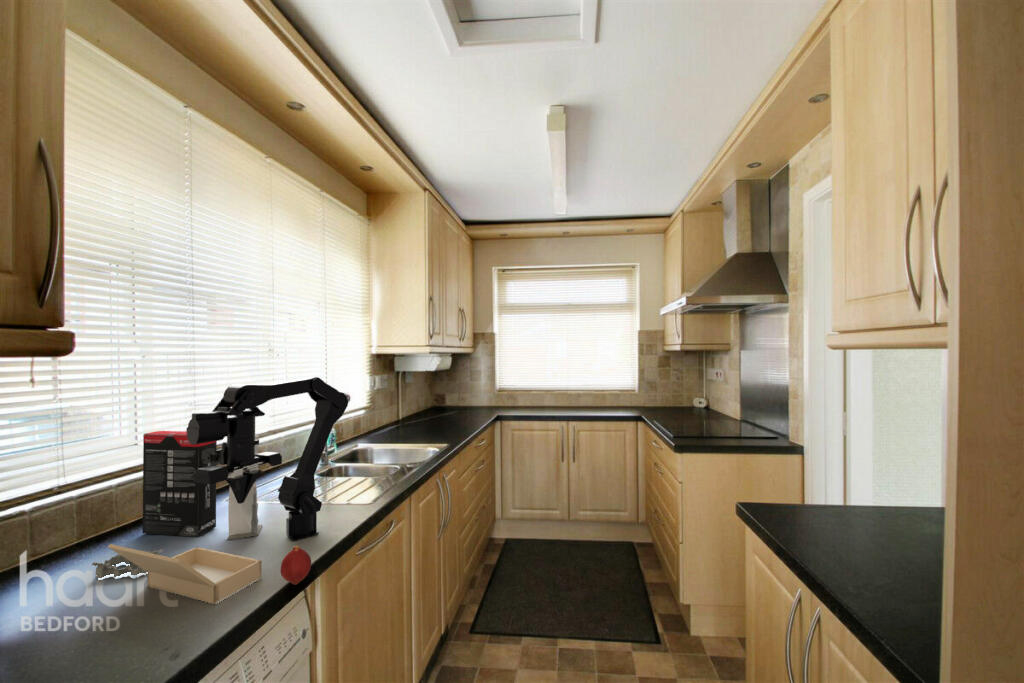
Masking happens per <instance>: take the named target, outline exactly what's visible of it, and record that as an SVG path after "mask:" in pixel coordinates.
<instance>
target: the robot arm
mask: <svg viewBox="0 0 1024 683" xmlns="http://www.w3.org/2000/svg"><path fill="white" fill-rule="evenodd" d="M306 393H307V395H308V396H309V398H310V399H311V400H312V401H314V402H315V407H314V415H315V421H314V423H313V427H312V429H311V431H310V434H309V436H308V438H307V441H306V443H305V447H304V449H303V451H302V453H301V457H300V459H299V461H298V463H297V466H296V469H295V471H294V472H293V473H292V474H291V475H290V476H287V475H284V477H283V479H282V482H281V485H280V487H279V488H278V490H277V492H278V497H277V499H278V501H279V503H280V504H281V505H282V506H283V507H284V510H285V511H288V517H287V518H286V520H285V521H286V523H285V524H286V526H285V527H286V529H285V530H286V531H285V532H286V535H287V536H288V537H289V538H290V540H291V541H297V540H301V539H304V537H305V538H308V537H307V536H309V537H312V536H311V535H313V536H316V535H315V534H317V535H319V534H318V533H319V531H318V530H317V522H318V521H317V520H318V519H317V517H318V515H317V514H318V512H320V511H321V509H322V505H323V502H322V501H321V500H319V499H318V498H317V497H315V496H314V495H315V491H316V481H315V475H316V472H317V469H318V468H319V464H320V461H321V459H322V456H323V453H324V451H325V448H326V446H327V443H328V440H329V438H330V435H331V432H332V430H333V426H334V425H335V424H336V423H337V422H338V421H339V420H340V419H341V418H342V417H343V415H344V413H345V412H346V410H347V408H348V405H349V399H348V396H347V395H346V394H345V393H344V392H340V391H339V389H336V388H335V387H334V386H332V385H330V384H328V383H327V382H325V381H324V380H323V379H322V378H320V377H318V376H306V377H303V378H298V379H291V380H286V381H280V382H273V383H267V384H259V383H258V384H256V383H255V384H254V383H253V384H252V383H251V384H248V383H246V384H245V383H234V384H230V385H229V386H227V388H226V389H225V391H224V392H223V396H222V398H221V399H220V401H219V402H218V403H217V405H216V406H214V408H213V409H212V411H211V412H193V413H191V419H190V420H189V422H188V425H187V427H186V431H187V438H188V441H189V442H190V444H192V445H195V444H201V443H207V442H213V441H217V442H219V441H222V440H224V439H225V438H226V441H224V442H222V444H221V449H218V450H216V451H215V450H214V448H211V449H206V450H204V451H202V462H203V464H208V463H210V466H207V467H203V468H199V469H197V470H196V471H195V472H194V474H193V482H197V483H204V484H215V483H216V484H218V483H221V482H226V483H228V485H229V488H230V487H231V489H232V491H233V493H234V496H235V498H236V500H237V503H239V504H241V503H244V501H245V499H246V497H247V495H248V493H249V491H250V489H251V488H252V486H253V484H254V482H255V481H256V482H257V479H258V478H259V476H260V475H261V474H263V470H260V469H259V466H263V465H265V464H268V465H270V467H275V466H279V465H282V464H283V456H282V455H281V454H280V452H274V451H263V452H260V453H259V452H258V454H255V445H258V444H259V445H260V439H259V440H255V436H256V435H255V434H256V418H257V417H264V416H265V415H266V413H265V412H264V411H262V410H261V409H260V408H259V406H261V405H264V404H266V403H267V402H269V401H271V400H275V399H279V398H286V397H292V396H296V395H301V394H306ZM221 465H222V466H221ZM235 467H238V468H235Z"/></svg>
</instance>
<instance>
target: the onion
mask: <svg viewBox="0 0 1024 683" xmlns="http://www.w3.org/2000/svg"><path fill="white" fill-rule="evenodd" d="M311 566H312V558H311V556H310V554H309V553H308V552H307V551H306V550H305V549H304V548H300V546H299V545H294V546H293V547H292V550H291V551H289V552H288V553H287V554H286V555H285V556H284V557H283V559H282V561H281V564H280V576H281V577H282V579H284V580H285V581H287V582H289V583H291V584H292V585H298V584H299V583H300V582H302V581H303V580H304V579H305V578H306V576H307V577H308V575H309V573H310V571H311Z"/></svg>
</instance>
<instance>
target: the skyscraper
mask: <svg viewBox="0 0 1024 683" xmlns="http://www.w3.org/2000/svg"><path fill="white" fill-rule="evenodd" d="M255 440H259V441H260V435H259V434H258V433H255ZM259 445H260V443H259V444H258V445H255V454H259ZM235 468H238V467H235ZM228 491H229V492H228V511H227V512H228V536H227V541H231V539H232V540H239V539H244V537H246V538H251V537H250V536H253V537H258V536H259V534H260V533H259V532H261V530H262V528H263V524H259V518H258V517H259V516H258V512H259V511H258V510H259V502H258V488H257V480H256V481H255V482H254V484H253V486H252V488H251V489H250V491H249V493H248V495H247V497H246V499H245V501H244V503H241V504H239V503H237V500H236V498H235V496H234V493H233V491H232V489H231V487H230V486H229V490H228ZM257 535H258V536H257ZM238 538H239V539H238Z"/></svg>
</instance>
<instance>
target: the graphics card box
mask: <svg viewBox="0 0 1024 683" xmlns="http://www.w3.org/2000/svg"><path fill="white" fill-rule="evenodd" d="M142 436H143V438H142V439H143V440H142V442H143V443H142V444H143V448H142V449H143V450H142V453H143V455H142V457H143V458H142V462H143V463H142V533H141V534H148V535H149V534H150V535H151V534H152V535H166V536H167V535H168V536H179V537H183V536H184V537H193V538H194V537H195V538H197V537H199V536H202V535H204V534H206V533H207V532H210V531H211V530H214V528H216V527H217V483H215V484H204V483H197V482H193V474H194V472H195V471H196V470H197V469H199V468H203V467H207V466H210V463H208V464H203V462H202V451H204V450H206V449H211V448H214V450H215V451H217V444H218V441H213V442H207V443H201V444H195V445H192V444H190V442H189V441H188V438H187V430H184V431H180V430H157V431H151V432H145V433H143V435H142Z"/></svg>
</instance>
